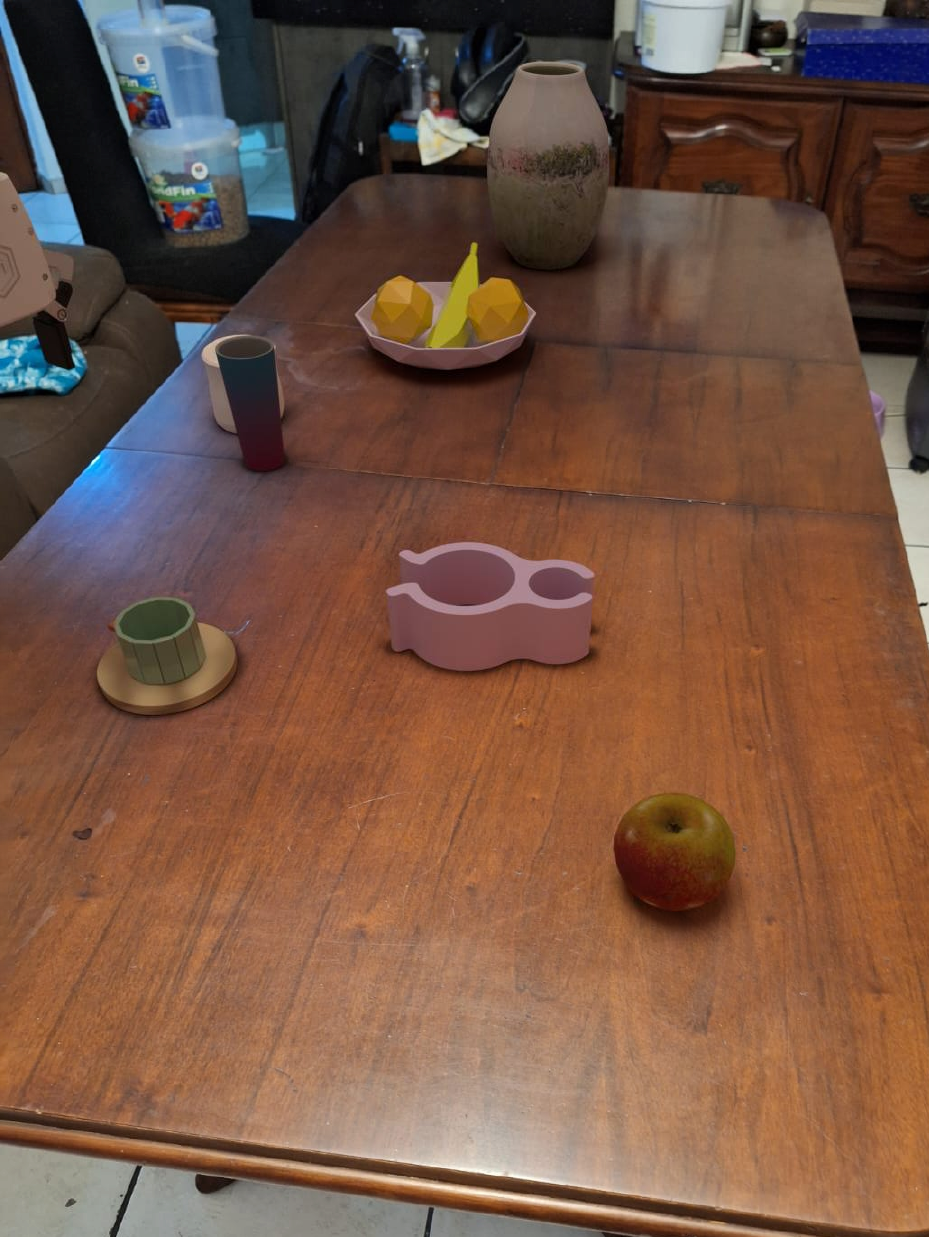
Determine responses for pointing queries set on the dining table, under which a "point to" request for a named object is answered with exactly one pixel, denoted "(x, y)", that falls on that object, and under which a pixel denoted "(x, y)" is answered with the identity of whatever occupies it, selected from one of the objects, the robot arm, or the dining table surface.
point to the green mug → (160, 640)
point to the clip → (489, 607)
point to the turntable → (173, 695)
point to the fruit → (674, 851)
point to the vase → (548, 165)
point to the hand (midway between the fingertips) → (14, 385)
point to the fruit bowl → (447, 319)
